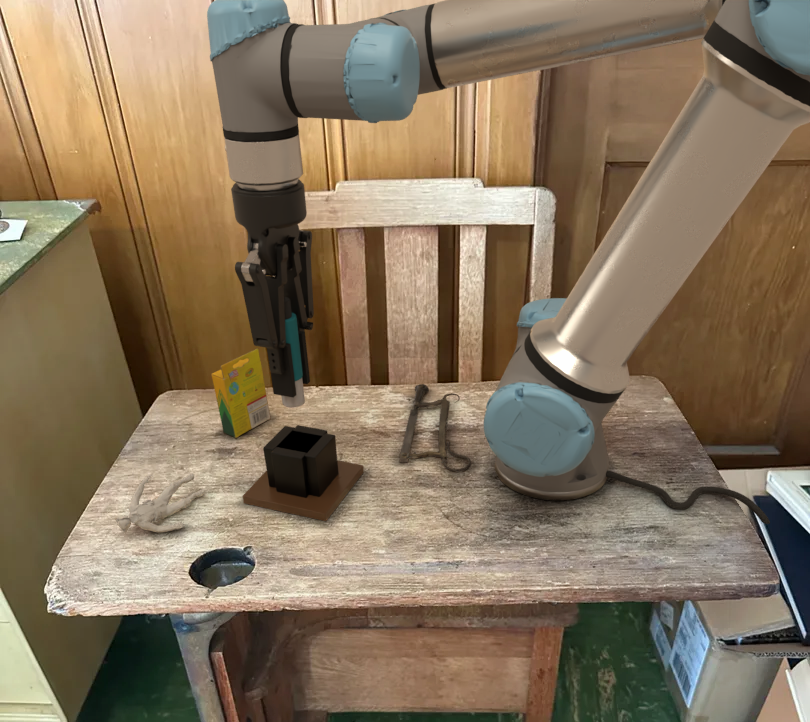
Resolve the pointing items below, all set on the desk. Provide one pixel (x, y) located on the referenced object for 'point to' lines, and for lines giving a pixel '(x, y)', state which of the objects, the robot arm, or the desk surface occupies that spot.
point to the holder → (303, 474)
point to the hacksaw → (442, 453)
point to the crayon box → (241, 394)
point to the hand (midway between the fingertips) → (292, 387)
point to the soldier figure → (156, 507)
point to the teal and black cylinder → (293, 356)
